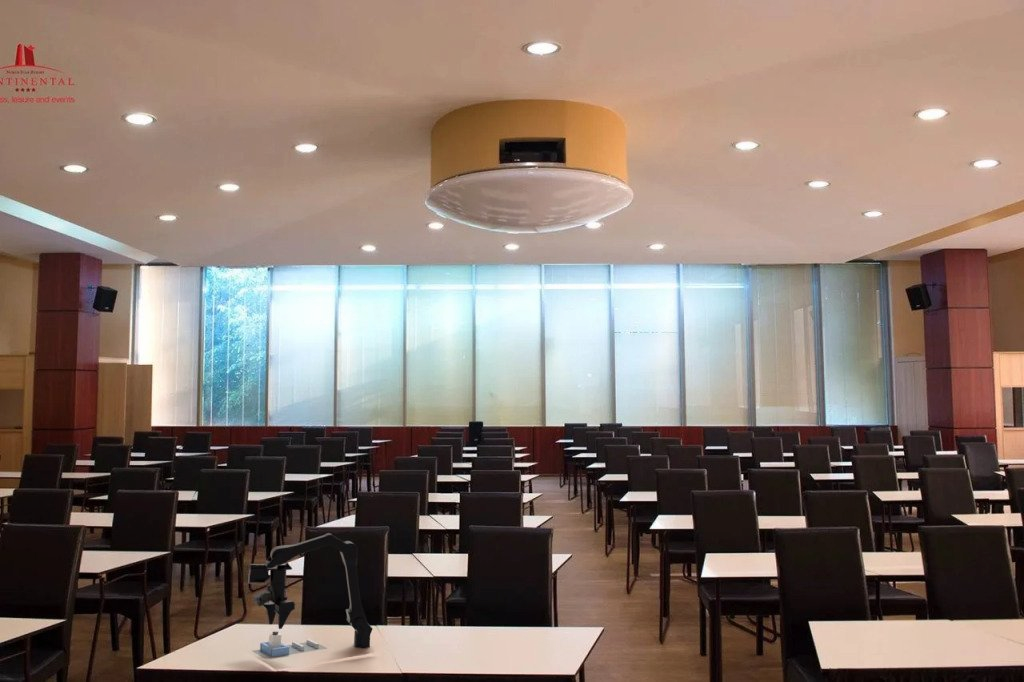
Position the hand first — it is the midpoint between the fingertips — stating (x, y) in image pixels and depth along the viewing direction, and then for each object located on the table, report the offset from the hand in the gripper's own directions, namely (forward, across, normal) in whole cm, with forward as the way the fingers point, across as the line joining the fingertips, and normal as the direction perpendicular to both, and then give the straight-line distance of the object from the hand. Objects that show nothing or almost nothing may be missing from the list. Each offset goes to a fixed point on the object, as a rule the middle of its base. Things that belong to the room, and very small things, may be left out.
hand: (275, 626), depth 306 cm
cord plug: (+10, 0, 0) cm, 10 cm away
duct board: (+10, 0, +6) cm, 12 cm away
